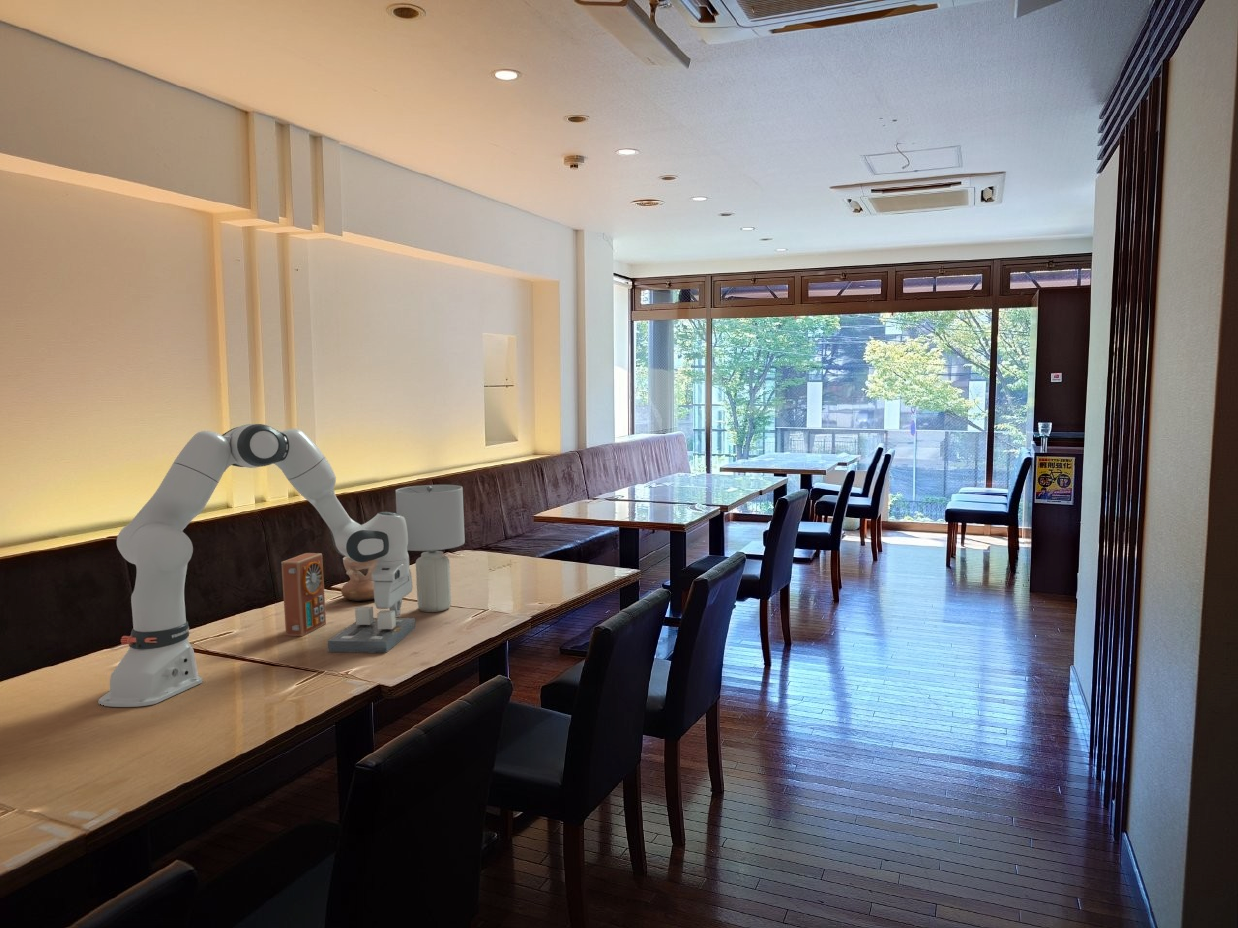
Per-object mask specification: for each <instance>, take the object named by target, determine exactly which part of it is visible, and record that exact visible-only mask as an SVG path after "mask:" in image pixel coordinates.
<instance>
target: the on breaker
mask: <svg viewBox="0 0 1238 928" xmlns="http://www.w3.org/2000/svg"><path fill="white" fill-rule="evenodd" d="M354 616H355V622H356V625H370V624H371V623H373V622H374V618H375V617H374V606H357V608H355V609H354Z"/></svg>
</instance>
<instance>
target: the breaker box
mask: <svg viewBox="0 0 1238 928" xmlns="http://www.w3.org/2000/svg"><path fill="white" fill-rule="evenodd" d="M395 618H396V626H395V627H394V628H393V629H378V622H377V617H374V622H373V623H371V624H370V625H356V621H355V622H353V623H352V624H351V625H349V626H348V627H345V628H344V629H343V630H342V631H340V632H338V633H337V634H336V635H335V636H333V637H331V638H330V639H328V641H327V647H328V648H327V649H328V650H327V651H328V653H371V654H372V653H374V654H375V653H376V652H377V653H376V654H378V653H381V654H382V652H386V653H388V652H389V651H391V650H392V649H393V648H394V647H395V646H396V645H397V644H399V643H400V642H401V641H402V640H403V639H405V638H406V637H407V636H408V635H409V634H410V633H411V632H412V631H413V629H414V628H415V629H416V619H415V618H414V617H395ZM415 629H414V630H415ZM406 635H407V636H406ZM405 636H406V637H405ZM386 653H385V654H386Z"/></svg>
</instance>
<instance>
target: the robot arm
mask: <svg viewBox="0 0 1238 928" xmlns="http://www.w3.org/2000/svg"><path fill="white" fill-rule="evenodd" d="M272 464H273V465H275V466H276V467H278V468H279V469H280V470H281V472H282V473H283V475H284V476H285V478H286V479H287V480H288V482H289V483H290V485H291V486H292V487H293V488H294V489H295V490H296V491H297V492H298V493H299V494H300V495H301V496H302V497H303V498H304V499H305V500H306V501H308V502H309V503H310V504H311V505H312V507H314V508H315V510H316V511H317V513H318V514H319V515H320V517H321V518H322V519H323V521H324V523H325V524H326V526H327V527H328V529H329V531H330V536H331V540H332V545H333V547H334V549H335V551H336V552H337V553H338V554H339V555H341V556H343V557H348V558H350V559H352V560H354V561H356V562H367V561H371V560H374V559H377V565H376V568H375V570H374V571H373V573H372V581H375V582H374V599H373V600H374V605H375V607H376V609H378V610H387V609H388V610H390V611H395V618H398V617H399V616H400V615H401V608H402V603H403V599H404V598H405V597H407V596H408V595H409V594H410V593H412V591H413V589H414V588H413V577H412V572H411V567H410V555H409V552H408V550H407V545H408V532H407V525H406V521H405V518H404V517H403V516H402V515H400V514H398V513H397V512H393V511H392V512H391V511H380V512H377V514H376V515H375V516H374V517H372V518H371V519H370V520H368V521H366V522H364V523H362V524H360V523H359V522H357V521H355V520H354V519H352V518H351V517H350V516H349V514H348V513H347V511H346V510H345V508H344V506H343V505H342V503H341V502H340V500H339V499H338V498H337V495H336V493H335V485H336V481H337V477H336V475H335V472H334V469H333V467H332V466H331V464H330V463H329V461H328V460H327V458H326V456H325V455H324V454H323V452H322V451H321V450H320V448H319V447H318V446H317V445H316V444H315V443H314V441H313V440H312V439H311V438H310V437H309V436H308V435H307V434H306V433H304V431H302V430H301V429H298V428H290V429H286V430H283V431H279V430H277V429H275V428H273V427H271V426H269V425H267V424H262V423H261V424H260V423H255V424H254V423H251V424H250V423H248V424H243V425H240V426H236V427H234V428H231V429H229V430H228V431H226V432H225V433H222V434H220V433H219V432H216V431H211V430H201V431H199V432H197V433H194V435H193V436H192V437H191V438H190V439H189V440H188V441H187V443H186V444H185V445H184V447H182V449H181V450H180V452H179V453H178V455H177V457H175V459H174V461H173V463H172V464H171V466H170V468H169V469H168V471H167V473H166V475H165V476H164V478H163V479H162V481H161V482H160V484H159V486H158V488H157V489H156V490H155V492H154V493H153V495H151V497H150V499H149V500H148V501H147V502H146V503H145V504H144V506H142V507H141V509H140V510H139V512H137V513H136V515H135V516H134V517H133V519H131V521H130V522H129V523H128V524H127V525H124V527H123V528H121V529H120V531H119V533H118V535H117V537H116V546H117V550H118V551H119V553H120V554H121V556H122V558H123V559H125V560H126V561H127V562H128V563H130V564H132V565H135V567H136V568H135V569H136V577H135V583H134V584H135V585H134V588H133V591H132V593H131V596H130V600H131V601H130V603H131V604H130V605H131V613H132V614H131V616H132V626H133V628H132V629H131V632H130V635H123V636H121V638H120V643H121V645H124V646H125V645H128V646H129V648H128V650H127V651H126V653H125V654H124V655H123V657H122V659H121V660H120V662H119V663H118V664H117V666H116V667H115V669H114V670H113V671H112V672H111V675H110V678H109V691H108V692H106V693H105V694H104V695H103V696H101V697H100V698H99V699H98V702H97V704H98V705H100V704H101V705H100V706H103V705H104V706H103V707H110V708H111V707H113V708H135V707H137V708H139V707H146V706H152V705H156V704H158V703H161V702H162V701H165V700H168V699H169V698H172V697H173V696H175V695H178V694H180V693H182V692H185V691H187V690H188V689H189V690H190V689H192V688H193V687H196V686H197V685H200V684H202V683H203V682H204V681H203V679H202V678H203V677H202V676H199V673H198V666H197V661H196V654H195V651H194V647H193V646H192V645H191V643H190V641H189V638H188V637H189V636H190V626H189V621H187V618H186V604H185V583H186V578H187V577H186V575H187V570H188V564H189V562H190V561H191V559H192V556H193V552H194V547H193V542H192V540H191V539H190V537H189V536H188V535H187V534H186V533H185V532H184V529H186V528H187V526H188V525H189V524H190V523H191V522H192V520H194V519H195V518H196V517H198V516H199V515H200V514H201V513H202V512H203V511H204V509H205V507H206V506H207V503H208V502H209V500H210V498H211V497H212V495H213V493H214V492H215V490H216V488H217V486H218V484H219V482H220V480H221V479H222V477H223V475H224V472H226V470H228V468H229V467H231V466H233V467H238V468H247V469H248V468H249V469H253V468H254V469H256V468H259V467H267V466H270V465H272Z"/></svg>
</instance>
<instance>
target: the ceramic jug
mask: <svg viewBox="0 0 1238 928" xmlns="http://www.w3.org/2000/svg"><path fill="white" fill-rule="evenodd" d="M342 562H343V566H344V569H345V571H346V572H345V574H346V575H347V576H348V577H349V579H350V580H348V581H347V582H346V583H344V584H343V586H342V587H341V591H340V592H341V595H342V597H344V598H345V599H347V600H349V601H353V602H354V601H355V602H366V601H371V600H374V582H375V581H372V573H373V571H374V570H375V568H376V565H377V559H374V560H371V561H367V562H356V561H354V560H352V559H350V558H348V557H345V556H343V558H342Z"/></svg>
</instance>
